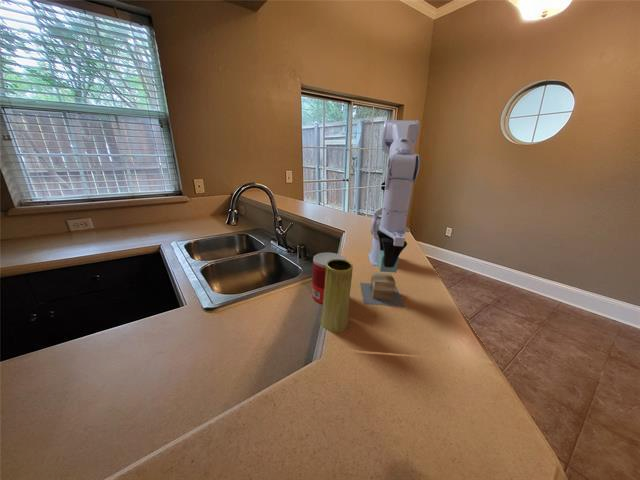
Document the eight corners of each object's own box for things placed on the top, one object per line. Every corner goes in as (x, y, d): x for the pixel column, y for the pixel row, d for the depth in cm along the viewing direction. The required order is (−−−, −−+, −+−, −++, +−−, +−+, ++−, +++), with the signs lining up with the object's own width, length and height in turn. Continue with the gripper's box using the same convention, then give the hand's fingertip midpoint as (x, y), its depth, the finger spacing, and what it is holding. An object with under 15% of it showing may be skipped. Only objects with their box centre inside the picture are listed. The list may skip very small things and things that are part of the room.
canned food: (341, 309, 59) (344, 267, 55) (308, 304, 60) (309, 263, 56) (344, 292, 66) (348, 254, 62) (315, 287, 67) (316, 250, 63)
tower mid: (371, 280, 67) (372, 271, 66) (389, 281, 66) (391, 272, 66) (373, 290, 62) (375, 281, 61) (394, 291, 62) (395, 282, 61)
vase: (351, 318, 56) (357, 261, 51) (344, 336, 50) (351, 274, 45) (325, 312, 57) (329, 255, 52) (316, 328, 52) (319, 267, 47)
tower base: (369, 288, 68) (371, 280, 67) (388, 289, 67) (389, 281, 66) (372, 298, 63) (373, 290, 62) (392, 299, 63) (394, 291, 62)
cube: (377, 264, 65) (379, 250, 63) (392, 265, 64) (395, 251, 63) (380, 271, 61) (382, 256, 59) (396, 272, 61) (399, 257, 59)
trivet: (359, 284, 70) (359, 282, 70) (395, 286, 70) (395, 285, 70) (363, 305, 61) (363, 303, 61) (404, 307, 60) (405, 306, 60)
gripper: (423, 218, 50) (411, 277, 55) (404, 203, 64) (396, 252, 69) (388, 216, 51) (379, 275, 55) (376, 202, 64) (370, 250, 69)
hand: (386, 262), depth 62 cm, fingers closed on cube, 4 cm apart
